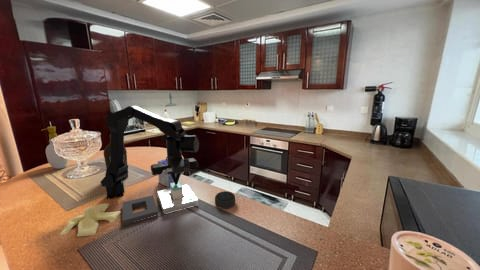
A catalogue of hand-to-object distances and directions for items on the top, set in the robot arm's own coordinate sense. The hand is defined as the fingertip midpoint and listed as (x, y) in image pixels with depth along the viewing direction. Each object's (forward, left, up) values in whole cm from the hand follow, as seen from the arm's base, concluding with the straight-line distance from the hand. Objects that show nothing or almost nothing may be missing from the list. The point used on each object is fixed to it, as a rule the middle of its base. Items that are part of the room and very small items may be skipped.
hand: (176, 184), depth 87 cm
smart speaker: (+18, -12, -9) cm, 23 cm away
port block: (0, 0, -8) cm, 8 cm away
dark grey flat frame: (-15, 0, -8) cm, 17 cm away
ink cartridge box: (0, +20, -8) cm, 22 cm away
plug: (0, 0, -8) cm, 8 cm away
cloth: (-32, +2, -9) cm, 33 cm away
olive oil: (-23, +40, -8) cm, 47 cm away
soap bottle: (-56, +76, -8) cm, 95 cm away
